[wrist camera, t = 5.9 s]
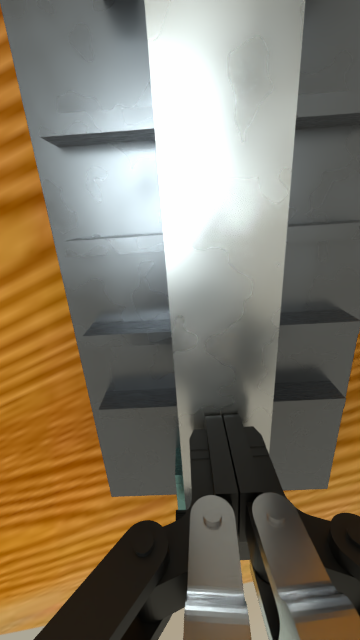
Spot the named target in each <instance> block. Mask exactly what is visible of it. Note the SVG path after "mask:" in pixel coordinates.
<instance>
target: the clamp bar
mask: <svg viewBox="0 0 360 640" xmlns="http://www.w3.org/2000/svg"><path fill="white" fill-rule="evenodd" d="M144 2H145V14H146V27H147V39H148V51H149V64H150V76H151V88H152V101H153V113H154V125H155V138H156V150H157V162H158V174H159V187H160V199H161V211H162V224H163V236H164V248H165V261H166V273H167V285H168V298H169V310H170V322H171V335H172V347H173V359H174V371H175V384H176V396H177V408H178V421H179V433H180V445H181V458H182V470H183V482H184V495H185V507H186V510H176V521H177V520H179V519H180V518H182V517H183V516H184V515H185V514H186V512H187V511H188V509H189V507H190V505H191V500H192V490H191V467H190V444H189V438H190V436H191V434H192V432H193V430H194V429H205V416H215V415H221V416H222V415H233V414H239V415H240V417H241V420H242V423H243V427H248V426H254V428H255V429H256V430H257V431H258V432H259V433H260V434H261V435H262V437H263V440H264V442H265V445H266V448H267V450H268V453H269V449H270V436H271V424H272V411H273V399H274V386H275V374H276V361H277V349H278V337H279V324H280V312H281V299H282V287H283V274H284V262H285V249H286V237H287V225H288V212H289V200H290V187H291V175H292V162H293V150H294V137H295V125H296V112H297V100H298V88H299V75H300V63H301V50H302V38H303V25H304V13H305V0H144ZM238 548H239V556H240V560H250V553H249V548H248V544H247V541H245V542H239V537H238Z"/></svg>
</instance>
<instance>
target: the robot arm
mask: <svg viewBox="0 0 360 640" xmlns="http://www.w3.org/2000/svg"><path fill="white" fill-rule="evenodd" d="M189 444H190V467H191V490H192V500H191V505H190V507H189V509H188V511H187V512H186V514H185V515H184V516H183V517H182V518H180V519H179V520H177V521H175V522H173V523H171V524H169V525H166V526H164V527H162V526H161V525H160V524H158V523H157V522H154V521H150V520H145V521H141V522H138V523H136V524H134V525H133V526H132V527H131V528H130V529H129V530H128V531H127V532H126V533H125V534H124V535H123V537H122V538H121V539H120V540H119V541H118V542H117V543H116V545H115V546H114V547H113V548H112V549H111V550H110V552H109V553H108V554H107V555H106V556H105V557H104V559H103V560H102V561H101V562H100V563H99V564H98V566H97V567H96V568H95V569H94V570H93V571H92V573H91V574H90V575H89V576H88V577H87V578H86V579H85V581H84V582H83V583H82V584H81V585H80V586H79V588H78V589H77V590H76V591H75V592H74V593H73V595H72V596H71V597H70V598H69V599H68V600H67V602H66V603H65V604H64V605H63V606H62V607H61V608H60V610H59V611H58V612H57V613H56V614H55V615H54V617H53V618H52V619H51V620H50V621H49V622H48V624H47V625H46V626H45V627H44V628H43V630H42V631H41V632H40V633H39V634H38V635H37V636H36V637H35V639H34V640H158V639H159V637H160V635H161V633H162V632H163V630H164V628H165V627H166V625H167V623H168V621H169V620H170V617H171V616H172V614H173V613H174V612H176V611H178V610H180V609H182V608H184V607H185V614H184V637H183V640H251V632H250V624H249V616H248V610H247V604H246V601H245V598H244V591H243V583H242V574H241V565H240V556H239V548H238V537H239V542H245V541H247V544H248V548H249V553H250V570H251V575H252V578H253V582H254V586H255V590H256V593H257V597H258V601H259V605H260V609H261V612H262V616H263V620H264V623H265V627H266V631H267V635H268V639H269V640H360V516H357V515H355V514H351V513H340V514H337V515H336V516H334V517H333V518H332V520H331V521H328V520H324V519H321V518H317V517H314V516H310V515H308V514H305V513H303V512H301V511H300V510H298V509H297V508H296V507H294V505H293V504H292V503H291V502H290V501H289V500H288V499H287V498H286V496H285V494H284V492H283V489H282V487H281V484H280V482H279V479H278V476H277V474H276V471H275V469H274V466H273V463H272V461H271V458H270V457H269V453H268V450H267V448H266V445H265V442H264V440H263V437H262V435H261V434H260V433H259V432H258V431H257V430H256V429H255V428H254V426H248V427H243V423H242V420H241V417H240V415H239V414H233V415H222V416H221V415H215V416H205V429H194V430H193V432H192V434H191V436H190V438H189Z"/></svg>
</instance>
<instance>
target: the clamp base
mask: <svg viewBox="0 0 360 640" xmlns="http://www.w3.org/2000/svg"><path fill="white" fill-rule="evenodd" d="M0 4H1V8H2V13H3V17H4V22H5V26H6V31H7V35H8V39H9V44H10V48H11V53H12V57H13V62H14V66H15V70H16V75H17V79H18V84H19V88H20V93H21V97H22V101H23V106H24V110H25V115H26V119H27V124H28V128H29V132H30V137H31V141H32V146H33V150H34V155H35V159H36V163H37V168H38V172H39V177H40V181H41V186H42V190H43V194H44V199H45V203H46V208H47V212H48V217H49V221H50V225H51V230H52V234H53V239H54V243H55V248H56V252H57V256H58V261H59V265H60V270H61V274H62V279H63V283H64V287H65V292H66V296H67V301H68V305H69V310H70V314H71V318H72V323H73V327H74V332H75V336H76V341H77V345H78V349H79V354H80V358H81V363H82V367H83V372H84V376H85V380H86V385H87V389H88V394H89V398H90V403H91V407H92V411H93V416H94V420H95V425H96V429H97V434H98V438H99V442H100V447H101V451H102V456H103V460H104V465H105V469H106V473H107V478H108V482H109V487H110V491H111V496H112V497H118V496H145V495H172V494H177V500H178V510H186V507H185V495H184V482H183V470H182V458H181V445H180V433H179V421H178V408H177V396H176V384H175V371H174V359H173V347H172V335H171V322H170V310H169V298H168V285H167V273H166V261H165V248H164V236H163V224H162V211H161V199H160V187H159V174H158V162H157V150H156V138H155V125H154V113H153V101H152V88H151V76H150V64H149V51H148V39H147V27H146V14H145V2H144V0H0ZM359 330H360V0H305V13H304V25H303V38H302V50H301V63H300V75H299V88H298V100H297V112H296V125H295V137H294V150H293V162H292V175H291V187H290V200H289V212H288V225H287V237H286V249H285V262H284V274H283V287H282V299H281V312H280V324H279V337H278V349H277V361H276V374H275V386H274V399H273V411H272V424H271V436H270V449H269V457H270V458H271V461H272V463H273V466H274V469H275V471H276V474H277V476H278V479H279V482H280V484H281V487H282V489H283V490H306V489H327V488H328V482H329V477H330V472H331V467H332V462H333V457H334V452H335V447H336V442H337V437H338V432H339V427H340V422H341V417H342V412H343V409H344V406H345V401H346V398H345V397H346V392H347V387H348V382H349V377H350V372H351V367H352V362H353V357H354V352H355V347H356V342H357V337H358V334H359Z"/></svg>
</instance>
